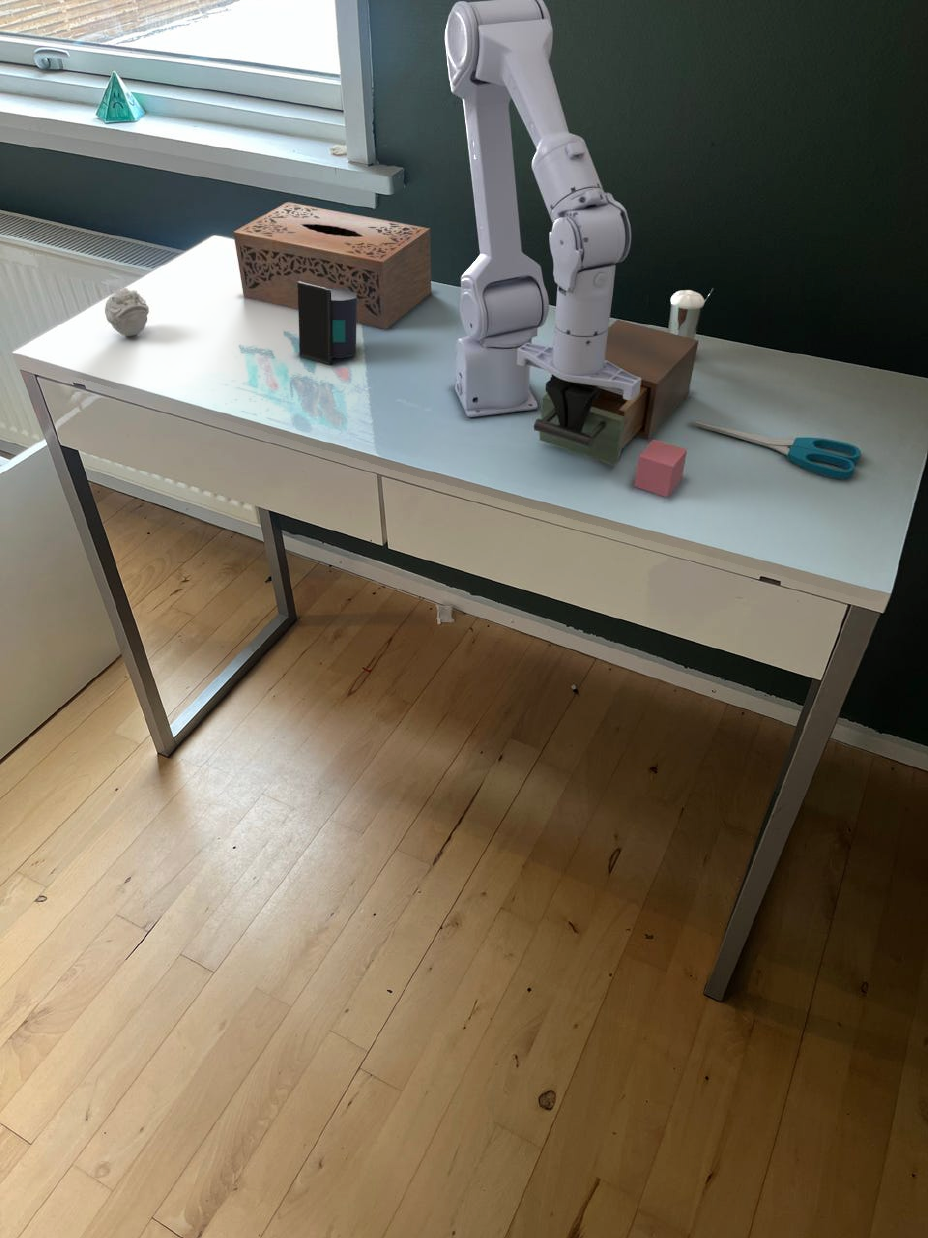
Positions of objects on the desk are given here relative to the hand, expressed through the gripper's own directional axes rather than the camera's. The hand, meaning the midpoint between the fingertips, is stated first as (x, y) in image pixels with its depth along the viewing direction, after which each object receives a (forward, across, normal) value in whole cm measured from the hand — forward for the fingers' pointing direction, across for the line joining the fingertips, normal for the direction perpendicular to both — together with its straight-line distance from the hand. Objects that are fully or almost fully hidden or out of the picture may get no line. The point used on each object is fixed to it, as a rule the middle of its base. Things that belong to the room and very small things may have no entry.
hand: (571, 435), depth 107 cm
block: (+4, -10, -3) cm, 12 cm away
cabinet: (+4, +1, -17) cm, 18 cm away
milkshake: (+4, +1, -34) cm, 34 cm away
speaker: (+4, +42, -6) cm, 43 cm away
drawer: (+3, 0, -6) cm, 7 cm away
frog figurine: (+4, +70, +7) cm, 70 cm away
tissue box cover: (+4, +54, -21) cm, 58 cm away
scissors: (+4, -18, -18) cm, 26 cm away
